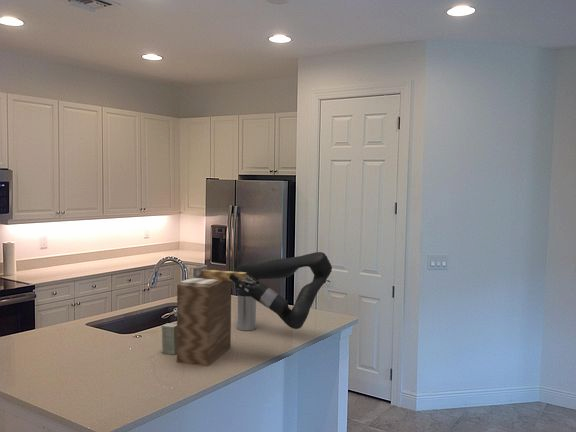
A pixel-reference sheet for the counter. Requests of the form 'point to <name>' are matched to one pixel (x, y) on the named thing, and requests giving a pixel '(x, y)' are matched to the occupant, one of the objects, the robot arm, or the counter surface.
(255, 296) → the robot arm
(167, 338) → the skincare box
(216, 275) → the wood block with plate
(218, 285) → the zigzag wood block
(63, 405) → the counter surface
